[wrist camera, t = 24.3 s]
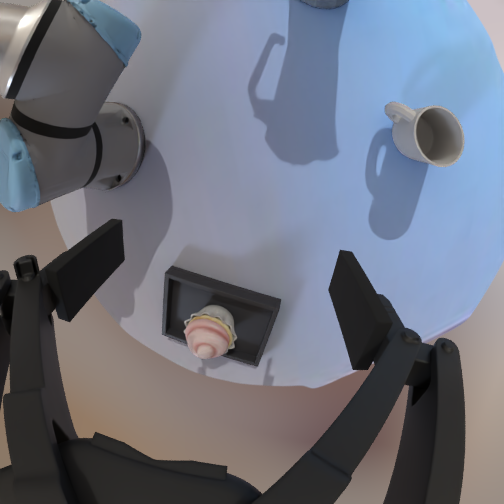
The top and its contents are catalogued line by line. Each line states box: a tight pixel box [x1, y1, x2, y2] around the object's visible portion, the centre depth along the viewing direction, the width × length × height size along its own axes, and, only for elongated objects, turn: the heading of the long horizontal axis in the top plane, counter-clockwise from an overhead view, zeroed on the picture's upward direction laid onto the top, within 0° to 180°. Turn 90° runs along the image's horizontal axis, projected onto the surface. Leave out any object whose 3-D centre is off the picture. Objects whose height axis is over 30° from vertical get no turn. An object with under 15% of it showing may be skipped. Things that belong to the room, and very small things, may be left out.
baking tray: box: [162, 266, 281, 366], centre depth 48 cm, size 20×15×3 cm
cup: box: [385, 102, 464, 167], centre depth 27 cm, size 7×10×9 cm
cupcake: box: [184, 305, 237, 359], centre depth 44 cm, size 9×9×10 cm
